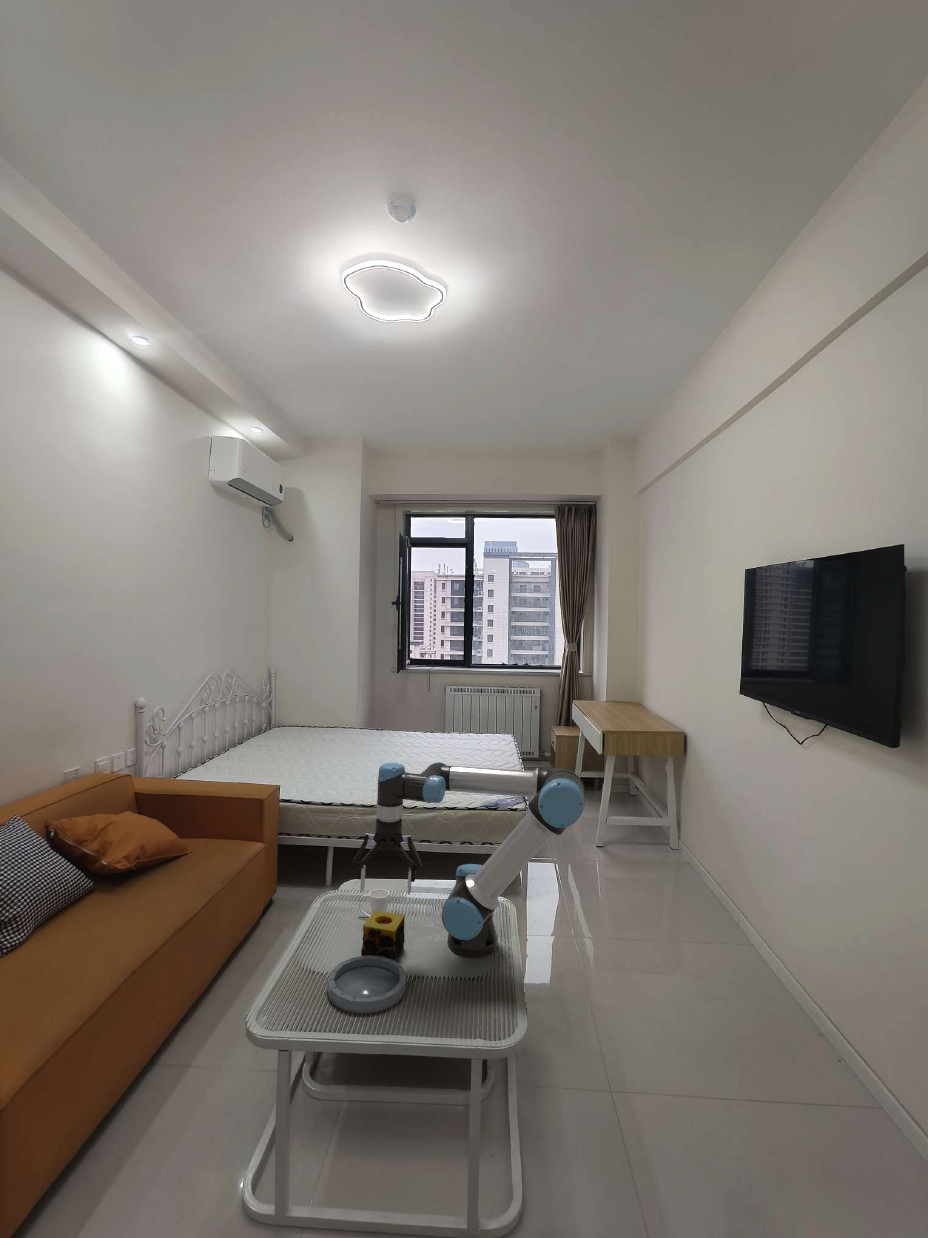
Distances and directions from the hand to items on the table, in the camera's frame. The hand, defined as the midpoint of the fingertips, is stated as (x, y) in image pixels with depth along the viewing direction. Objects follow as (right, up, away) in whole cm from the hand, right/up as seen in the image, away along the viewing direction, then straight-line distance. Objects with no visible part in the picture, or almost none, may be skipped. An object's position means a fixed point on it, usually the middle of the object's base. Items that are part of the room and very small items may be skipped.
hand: (385, 891), depth 170 cm
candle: (-1, -19, 0) cm, 19 cm away
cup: (-7, -18, +21) cm, 29 cm away
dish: (-3, -18, -16) cm, 24 cm away
